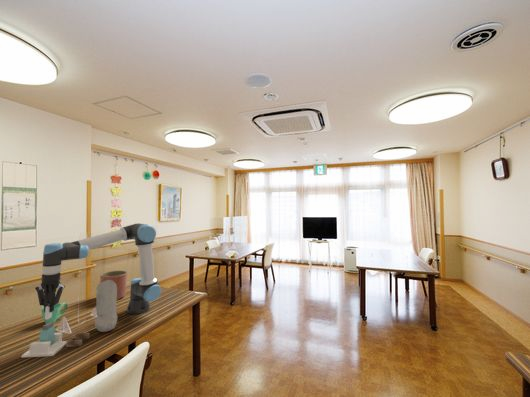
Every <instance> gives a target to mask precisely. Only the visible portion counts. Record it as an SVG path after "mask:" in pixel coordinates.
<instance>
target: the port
mask: <svg viewBox="0 0 530 397" xmlns="http://www.w3.org/2000/svg"><path fill="white" fill-rule="evenodd" d="M67 341H68V340H63V332H54V344H52V345H51V341H46V342H39V341H33V342H31V343H30V344H29V349H28V350H27V351H26V352H24V353H23V354H22V355H21V356H20V357H21V358H41V357H53V356H55V355H56V354H57V353H58V352H59V351H60V350H62V349H63V348H64V347H66V343H67ZM50 345H51V346H50Z"/></svg>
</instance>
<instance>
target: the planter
mask: <svg viewBox="0 0 530 397" xmlns="http://www.w3.org/2000/svg"><path fill="white" fill-rule="evenodd" d="M99 276H100V277H99V283H102V282H104V281H106V280H112V281H114V282H115V283H116V285H117V301H119V300H120V299H121V298H123V297H125V296H126V289H127V281H128V271H126V270H118V269H117V270H110V271H109V270H108V271H105V272H102V273H100V275H99Z"/></svg>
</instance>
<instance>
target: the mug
mask: <svg viewBox="0 0 530 397" xmlns="http://www.w3.org/2000/svg"><path fill="white" fill-rule="evenodd" d="M62 306H63V308H62ZM67 307H68V303H66V302H59V303H57V304H56V305H54V311H53V312H52V317H51V318H49V319H45V312H44V306H43V305H42V307H41V309H40V310H41V314H42V319H43V321H44V323H45V324H47V323H53V324H54V323H55V322H56V321H57V319H59V318H60V317H61V316H62V315H63V314H64V313H65V312H66V310H67V309H68V308H67Z"/></svg>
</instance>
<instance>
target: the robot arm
mask: <svg viewBox="0 0 530 397" xmlns="http://www.w3.org/2000/svg"><path fill="white" fill-rule="evenodd" d="M155 238H157V231H156V229H155V227H154V226H153V225H150V224H148V223H147V224H146V223H133V224H129V225H126V226H122V227H120V228H119V229H117V230H113V231H110V232H106V233H101V234H98V235H94V236H91V237H86V238H83V239H78V240H75V241H72V242H70V241H69V242H67V241H66V242H63V243H60V242H59V243H58V242H57V243H48V244H45V245H44V247H43V253H42V254H43V255H42V256H43V258H42V269H41V274H42V275H41V283H40V285H38V286H36V287H35V290H36V292H37V298H38V303H39V306H42V307H43V306H44V312H45V319H49V318H51V317H52V312H53V311H54V305H56V304H57V303H59V304H60V299H61V296H62V293H63V291H64V289H65V288H66V285H63V284H62V283H61V282H60V281H61V270H62V263H63V262H64V261H70V260H81V259H86V258H88V257H89V254H90V250H93V249H96V248H97V249H98V248H100V247H104V246H107V245H110V244H113V243H117V242H120V241H124V242H126V241H129V240H134V245H135V246H136V247H138V258H139V259H138V260H139V268H140V277H138V278H137V277H136V278H133V279H132V280H131V281H130V282H131V283H130V294H129V296H130V297H129V302H128V305H127V308H126V313H127V314H129V315H139V314H144V313H146V312H148V311H149V310H150V309H151V308H150V307H151V304H150V302H154V301H156V300H157V299H158V298H159V297H160V296H161V294H162V287H161V286H160V285H159V282H158V278H157V277H155V267H154V265H155V264H154V256H153V244H154V243H155ZM62 261H63V262H62Z"/></svg>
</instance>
